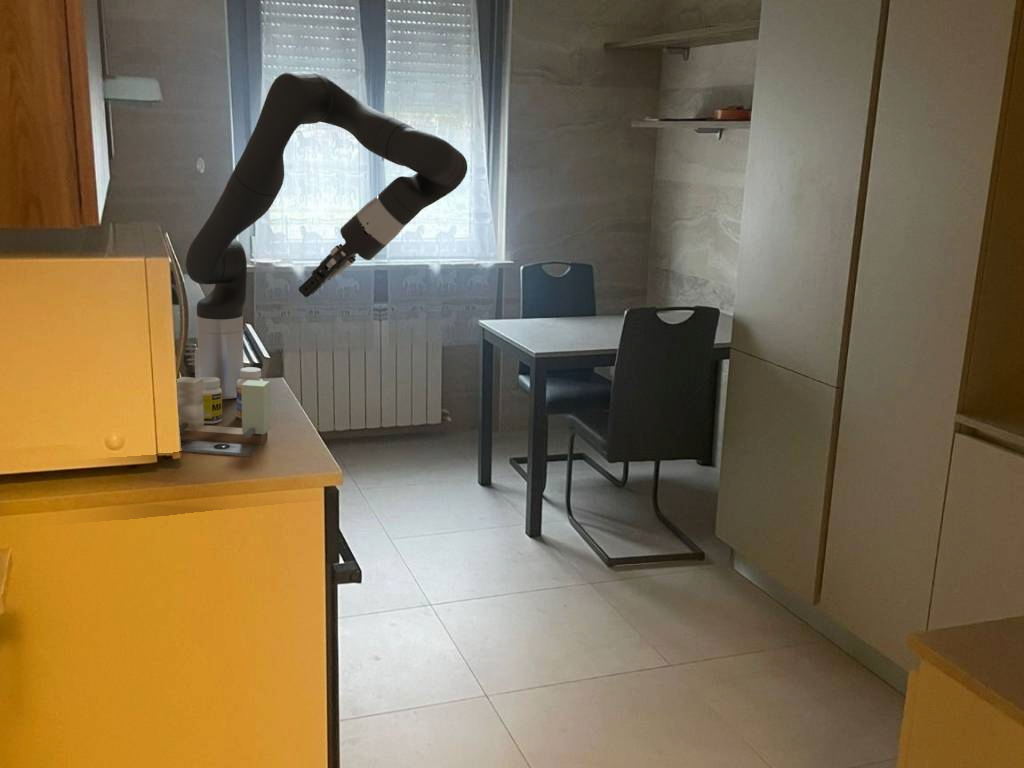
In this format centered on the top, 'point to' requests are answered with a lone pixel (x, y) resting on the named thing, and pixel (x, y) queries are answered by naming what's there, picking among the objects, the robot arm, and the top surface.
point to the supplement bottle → (212, 400)
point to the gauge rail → (224, 435)
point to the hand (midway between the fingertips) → (305, 291)
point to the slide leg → (255, 407)
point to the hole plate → (218, 447)
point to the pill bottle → (245, 375)
